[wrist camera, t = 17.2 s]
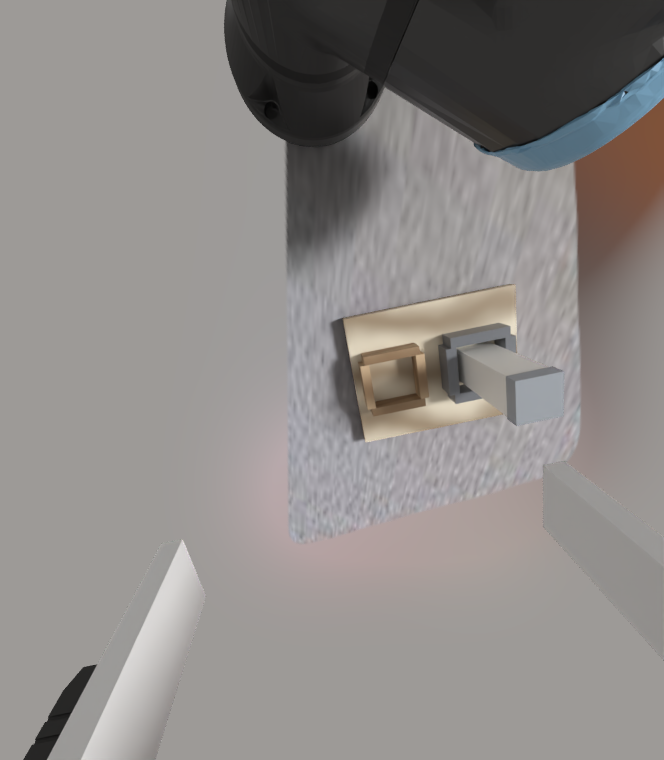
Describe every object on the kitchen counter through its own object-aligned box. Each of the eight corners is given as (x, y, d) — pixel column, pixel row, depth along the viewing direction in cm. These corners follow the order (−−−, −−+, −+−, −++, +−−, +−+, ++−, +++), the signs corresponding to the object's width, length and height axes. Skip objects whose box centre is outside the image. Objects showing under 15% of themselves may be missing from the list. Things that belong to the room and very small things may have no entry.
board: (342, 318, 41) (343, 319, 40) (509, 284, 41) (515, 284, 40) (364, 438, 46) (365, 442, 45) (513, 407, 46) (518, 411, 45)
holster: (356, 354, 41) (359, 358, 39) (418, 341, 41) (423, 345, 39) (366, 410, 43) (369, 417, 42) (424, 399, 43) (430, 405, 42)
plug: (453, 347, 42) (515, 381, 29) (488, 340, 42) (564, 371, 29) (456, 380, 43) (516, 426, 31) (490, 373, 43) (563, 416, 31)
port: (437, 335, 41) (445, 339, 39) (503, 321, 41) (515, 325, 39) (444, 412, 44) (452, 420, 42) (506, 399, 44) (517, 406, 42)
